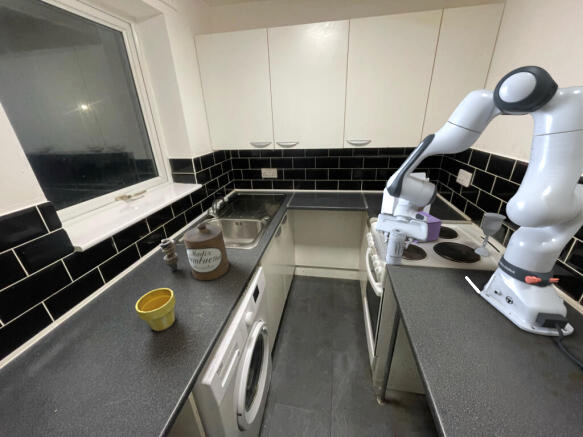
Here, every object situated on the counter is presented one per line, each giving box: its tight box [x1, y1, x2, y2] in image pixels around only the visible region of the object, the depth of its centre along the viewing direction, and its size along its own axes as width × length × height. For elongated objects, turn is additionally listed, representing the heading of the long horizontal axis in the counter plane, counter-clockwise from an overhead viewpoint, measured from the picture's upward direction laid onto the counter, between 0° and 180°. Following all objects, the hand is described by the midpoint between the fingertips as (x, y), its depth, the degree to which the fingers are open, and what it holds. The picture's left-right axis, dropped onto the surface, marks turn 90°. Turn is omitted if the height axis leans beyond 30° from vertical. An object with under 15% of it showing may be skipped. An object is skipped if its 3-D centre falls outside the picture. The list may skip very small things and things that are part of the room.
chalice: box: [474, 212, 507, 257], centre depth 99 cm, size 7×7×18 cm
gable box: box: [380, 172, 432, 214], centre depth 132 cm, size 22×13×28 cm, turn 92°
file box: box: [413, 211, 443, 244], centre depth 117 cm, size 13×12×10 cm
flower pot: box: [134, 287, 177, 332], centre depth 71 cm, size 10×10×10 cm
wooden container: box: [182, 222, 230, 281], centre depth 94 cm, size 15×15×22 cm
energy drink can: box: [385, 229, 406, 266], centre depth 96 cm, size 6×6×15 cm
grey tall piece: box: [159, 238, 179, 272], centre depth 96 cm, size 6×6×15 cm
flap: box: [427, 215, 443, 224], centre depth 112 cm, size 6×12×1 cm, turn 103°
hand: (395, 245), depth 95 cm, fingers closed on energy drink can, 6 cm apart
